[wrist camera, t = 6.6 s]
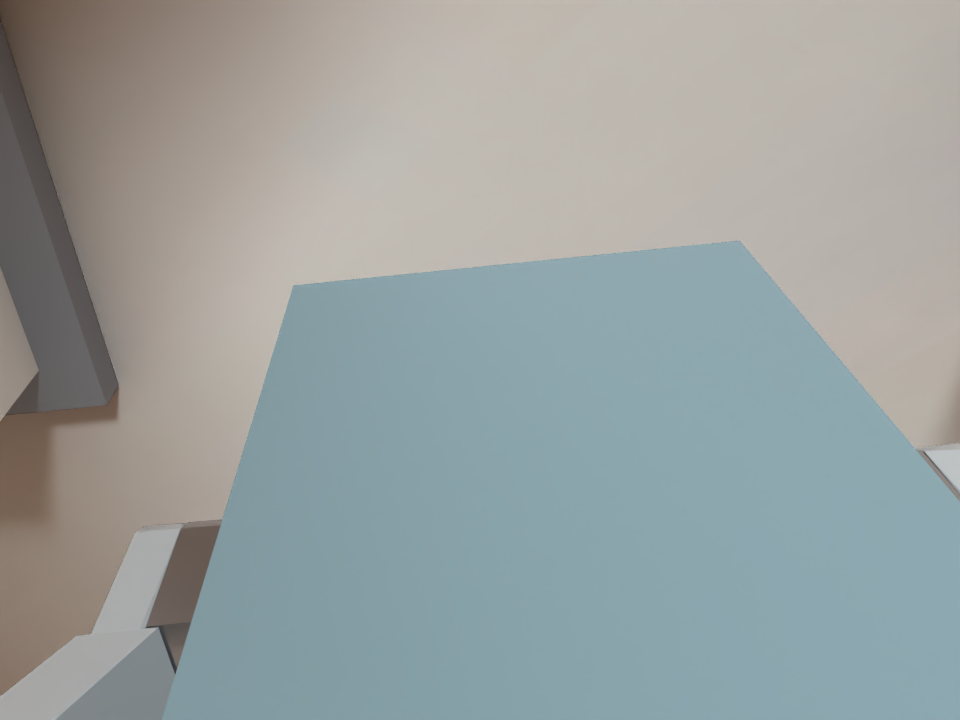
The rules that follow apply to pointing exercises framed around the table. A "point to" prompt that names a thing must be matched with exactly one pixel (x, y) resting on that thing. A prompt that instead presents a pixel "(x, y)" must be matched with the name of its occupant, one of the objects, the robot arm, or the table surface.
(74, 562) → the table surface
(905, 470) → the block
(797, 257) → the table surface
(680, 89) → the table surface
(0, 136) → the board
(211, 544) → the robot arm
